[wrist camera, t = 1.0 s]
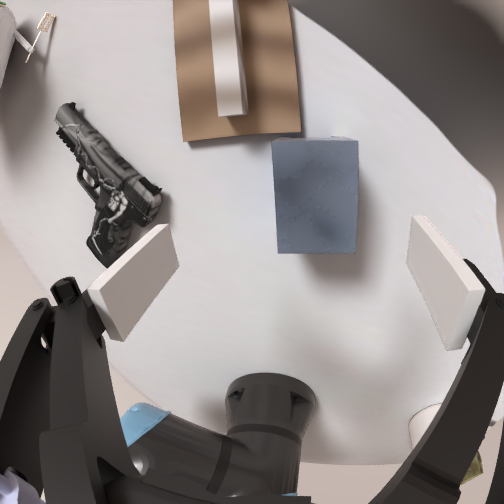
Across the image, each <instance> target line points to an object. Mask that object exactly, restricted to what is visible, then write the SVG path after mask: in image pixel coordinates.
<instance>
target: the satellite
mask: <svg viewBox="0 0 504 504" xmlns="http://www.w3.org/2000/svg"><path fill="white" fill-rule="evenodd" d="M5 5H6V4H5V3H4V2H1V1H0V88H1V85H2V82H3V79H4V75H5V71H6V67H7V63H8V60H9V56H10V53H11V50H12V47H13V43H14V40H15V38H16V39H17V40H18V42H19V43H20V44H21V45H22V46H23V47H24V48H25V49H26V50H27V52H30V53H29V55H28V58H27V60H26V62H25V63H27V61H28V59H29V56H30V54H31V53H33V51H35V49H34V48H33V47H34V45H35V43H36V41H37V39H38V37H39V35H40V33H41V31H42V30H43V31H44V32H45V33H46V32H48V29H49V27H50V25H51V23H52V22H53V20H54V18H55V16H56V15H55V16H54V15H51V14H49V13H47V12H46V13H45V15H46V16H45V15H44V16H43V18H42V20H43V19H44V20H43V22H44V21H45V19H46V17H47V16H48V17H47V19H46V21H45V23H44V25H45V24H46V22H47V20H48V18H49V17H50V18H51V19H52V21H51V19H50V20H49V22H48V24H47V26H46V28H43V27H44V25H43V27H41V26H42V24H43V22H42V20H41V22H42V24H41V22H40V23H39V25H38V27H37V29H38V28H39V29H38V30H40V29H41V30H40V32H39V34H38V36H37V38H36V40H35V42H34V45H33V47H32V46H31V45H30V44H29V43H28V42H27V41H26V40H25V38H24V37H23V36H22V35H21V34H20V33H19V32H18V31H17V29H16V20H15V17H14V15H13V13H12V11H11V10H10V9H9V8H8V7H6V6H5ZM44 17H45V18H44ZM50 21H51V23H50ZM49 23H50V25H49ZM40 24H41V25H40ZM48 25H49V26H48ZM47 27H48V28H47Z"/></svg>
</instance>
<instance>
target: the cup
mask: <svg viewBox="0 0 504 504" xmlns="http://www.w3.org/2000/svg"><path fill="white" fill-rule="evenodd" d="M441 405H442V404H436V405H432V406H430V407H427V408H425V409H423V410H422V411H420V412H419V413H417V414H416V415H415V416H414V417H413V418H412V419H411V421H410V423H409V431H410V437H411V443H412V450H413V449H414V448H415V446H416V445H417V443H418V442H419V440H420V439H421V437H422V436H423V434H424V433H425V431H426V430H427V428H428V427H429V425H430V423H431V422H432V420H433V418H434V417H435V415H436V413H437V412H438V410H439V408H440V406H441Z"/></svg>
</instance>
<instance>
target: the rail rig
mask: <svg viewBox="0 0 504 504" xmlns="http://www.w3.org/2000/svg"><path fill="white" fill-rule="evenodd" d="M173 18H174V39H175V56H176V71H177V83H178V95H179V106H180V116H181V126H182V135H183V142H187V141H194V140H202V139H210V138H218V137H228V136H238V135H250V134H265V133H285V132H301V123H300V109H299V97H298V85H297V74H296V64H295V55H294V46H293V37H292V29H291V22H290V14H289V7H288V0H173Z"/></svg>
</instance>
